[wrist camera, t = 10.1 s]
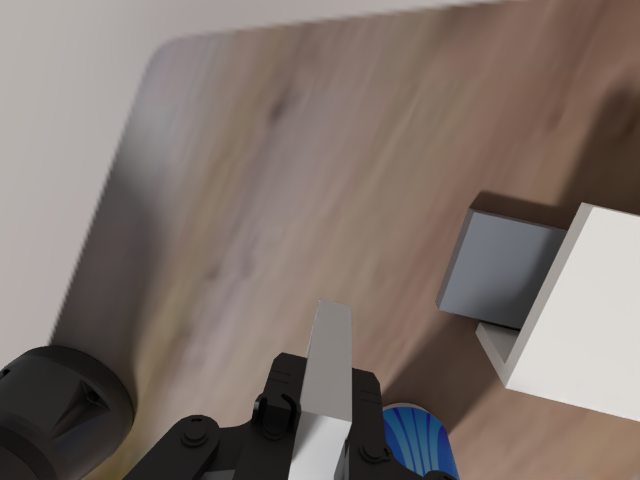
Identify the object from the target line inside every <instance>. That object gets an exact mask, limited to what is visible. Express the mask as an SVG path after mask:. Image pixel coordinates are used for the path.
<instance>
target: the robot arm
mask: <svg viewBox="0 0 640 480" xmlns="http://www.w3.org/2000/svg"><path fill="white" fill-rule="evenodd" d="M132 422H133V410H132V405H131V402H130V399H129V397H128V394H127V393H126V391H125V389H124V387H123V386H122V384H121V383H120V382H119V380H118V379H117V378H116V377H115V376H114V375H113V374H112V373H111V372H110V371H109V370H108V369H107V368H106V367H104V366H103V365H102V364H101V363H99V362H98V361H96V360H95V359H93V358H91V357H89V356H87V355H85V354H83V353H81V352H78V351H75V350H72V349H69V348H64V347H58V346H44V347H38V348H34V349H31V350H29V351H27V352H25V353H24V354H22V355H21V356H19V357H18V358H16V359H15V360H13V361H12V362H11V363H9V364H8V365H6V366H5V367H4V368H3V369H2V370H1V371H0V480H81V479H82V478H84V477H85V476H86V475H87V474H89V473H90V472H91V471H93V470H94V469H95V468H96V467H98V466H99V465H100V464H101V463H103V462H104V461H106V460H107V459H108V458H109V457H111V456H112V455H113V454H114V452H115V451H116V450H117V449H118V447H119V446H120V445H121V443H122V442H123V441H124V439H125V438H126V437H127V435H128V434H129V432H130V430H131V427H132ZM122 480H457V479H456V478H455V477H453V476H452V475H450V474H448V473H446V472H444V471H439V470H433V471H428V472H427V473H426V474H425V475H424V476H421V475H419V474H417V473H415V472H414V471H412V470H410V469H408V468H407V467H405V466H404V465H402V464H401V463H400V462H399V461H398V460H396V459H395V457H394V455H393V452H392V449H391V448H390V447H389V445H388V444H387V442H386V436H385V427H384V418H383V409H382V400H381V391H380V383H379V382H378V380H377V378H376V377H375V375H374V373H372V372H368V371H363V370H359V369H355V368H352V306H347V305H343V304H339V303H335V302H330V301H326V300H322V299H319V302H318V306H317V311H316V315H315V319H314V323H313V327H312V331H311V335H310V340H309V344H308V348H307V353H306V358H304V357H300V356H296V355H292V354H287V353H283V352H282V353H281V354H279V355H278V356H277V357H276V358H275V359H274V361H273V364H272V367H271V370H270V373H269V376H268V379H267V382H266V385H265V388H264V391H263V393H262V394H260V395H259V396H258V398H257V399H256V401H255V404H254V409H253V414H252V419H251V420H249V421H248V422H246V423H245V424H242V425H240V426H236V427H226V428H219V426H218V424H217V422H216V421H214V420H213V419H212V418H210V417H207V416H204V415H191V416H188V417H185V418H182V419H181V420H180V421H178V422H177V423H176V424H174V425H173V426H172V428H171V429H170V430H169V431H168V432H167V433H166V434H165V435H164V436H163V437H162V438H161V439H160V440H159V441H158V442H157V443H156V444H155V445H154V447H153V448H152V449H151V450H150V451H149V452H148V453H147V454H146V455H145V456H144V457H143V458H142V459H141V460H140V461H139V462H138V463H137V464H136V466H135V467H134V468H133V469H132V470H131V471H130V472H129V473H128V474H127V475H126V476H125V477H124V478H123V479H122Z"/></svg>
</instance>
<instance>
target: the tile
mask: <svg viewBox="0 0 640 480" xmlns="http://www.w3.org/2000/svg"><path fill="white" fill-rule="evenodd" d="M567 232H568V230H566V229H562V228H557V227H553V226H548V225H544V224H539V223H535V222H530V221H526V220H521V219H517V218H512V217H508V216H503V215H499V214H494V213H490V212H485V211H481V210H476V209H472V208H468V211H467V214H466V217H465V220H464V222H463V225H462V228H461V231H460V234H459V236H458V239H457V242H456V245H455V248H454V250H453V253H452V256H451V259H450V262H449V265H448V267H447V270H446V273H445V276H444V279H443V281H442V284H441V287H440V290H439V293H438V295H437V298H436V301H435V302H436V305H437V307H438V309H439V310H441V311H446V312H450V313H454V314H458V315H463V316H467V317H471V318H476V319H480V320H484V321H488V322H493V323H497V324H501V325H505V326H510V327H514V328H518V329H522V327H523V325H524V323H525V321H526V319H527V317H528V315H529V313H530V310H531V308H532V306H533V304H534V302H535V300H536V298H537V296H538V294H539V291H540V289H541V287H542V285H543V283H544V281H545V279H546V277H547V275H548V272H549V270H550V268H551V266H552V264H553V262H554V260H555V258H556V256H557V253H558V251H559V249H560V247H561V245H562V243H563V241H564V239H565V237H566V234H567Z"/></svg>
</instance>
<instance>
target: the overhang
mask: <svg viewBox="0 0 640 480" xmlns="http://www.w3.org/2000/svg"><path fill="white" fill-rule="evenodd" d="M475 334H476V335H477V337H478V339H479V341H480V343H481V345H482V346H483V348H484V350H485V352H486V354H487V356H488V357H489V359H490V361H491V363H492V365H493V367H494V368H495V370H496V372H497V374H498V376H499V378H500V380H501V381H502V383H503V385H504V387H505V388H507V389H511V390H515V391H519V392H523V393H527V394H531V395H535V396H539V397H543V398H547V399H551V400H556V401H560V402H564V403H568V404H572V405H576V406H580V407H584V408H588V409H592V410H596V411H600V412H604V413H608V414H612V415H616V416H620V417H624V418H628V419H632V420H636V421H640V215H635V214H631V213H627V212H622V211H618V210H613V209H609V208H605V207H600V206H596V205H591V204H587V203H583V202H582V203H581V205H580V207H579V209H578V211H577V213H576V215H575V218H574V220H573V222H572V224H571V226H570V228H569V230H568V232H567V234H566V237H565V239H564V241H563V243H562V245H561V247H560V249H559V251H558V253H557V256H556V258H555V260H554V262H553V264H552V266H551V268H550V270H549V272H548V275H547V277H546V279H545V281H544V283H543V285H542V287H541V289H540V291H539V294H538V296H537V298H536V300H535V302H534V304H533V306H532V308H531V310H530V313H529V315H528V317H527V319H526V321H525V323H524V325H523V327H522V329H521V332H519V331H515V330H511V329H507V328H503V327H499V326H495V325H490V324H486V323H482V322H479V325H478V327H477V329H476V332H475Z"/></svg>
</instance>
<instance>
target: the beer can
mask: <svg viewBox="0 0 640 480" xmlns="http://www.w3.org/2000/svg"><path fill="white" fill-rule="evenodd" d="M382 409H383V418H384V427H385V436H386V442H387V444H388V445H389V447H390V448H391V449H392V452H393V455H394V457H395V459H396V460H398V461H399V462H400V463H401V464H402V465H404V466H405V467H407V468H408V469H410V470H412V471H414V472H415V473H417V474H419V475H421V476H424V475H425V474H426V473H427V472H428V471H433V470H439V471H444V472H446V473H448V474H450V475H452V476H453V477H455V478H456V479H457V480H460V479H459V475H458V472H457V468H456V465H455V461H454V457H453V454H452V450H451V447H450V443H449V439H448V436H447V432H446V430H445V428H444V426H443V424H442V423H441V422H440V421H439V420H438V419H437V418H436V417H435V416H434V415H432V414H431V413H429V412H428V411H427V410H425V409H424V408H422V407H420V406H417V405H415V404H410V403H395V404H390V405H388V406H385V407H383V408H382Z"/></svg>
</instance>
